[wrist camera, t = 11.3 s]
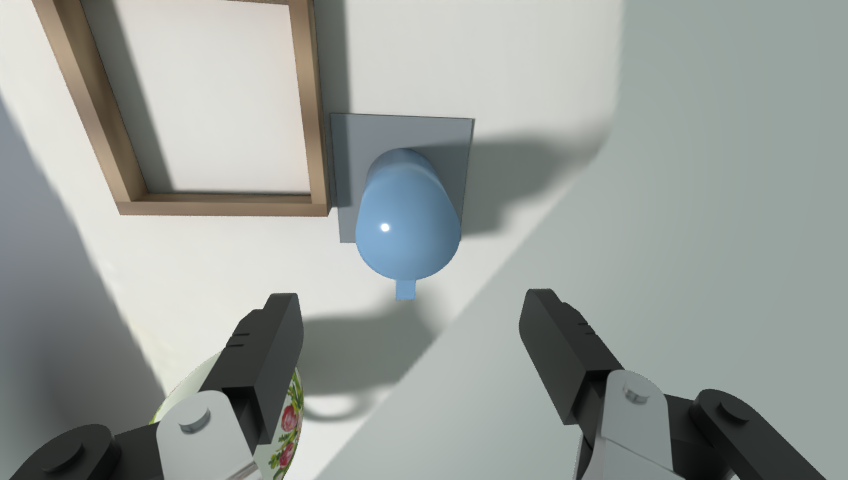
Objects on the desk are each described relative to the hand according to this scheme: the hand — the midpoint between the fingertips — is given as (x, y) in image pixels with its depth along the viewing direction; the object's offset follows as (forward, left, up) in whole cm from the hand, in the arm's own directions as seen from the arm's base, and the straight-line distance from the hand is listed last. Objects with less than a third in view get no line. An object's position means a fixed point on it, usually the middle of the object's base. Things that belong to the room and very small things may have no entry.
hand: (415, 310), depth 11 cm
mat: (0, 0, -15) cm, 15 cm away
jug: (+1, 0, -15) cm, 15 cm away
